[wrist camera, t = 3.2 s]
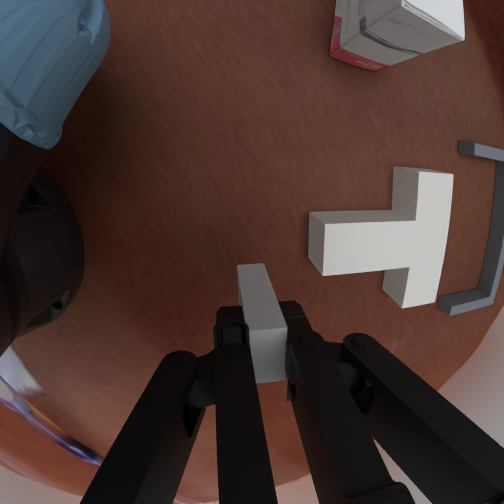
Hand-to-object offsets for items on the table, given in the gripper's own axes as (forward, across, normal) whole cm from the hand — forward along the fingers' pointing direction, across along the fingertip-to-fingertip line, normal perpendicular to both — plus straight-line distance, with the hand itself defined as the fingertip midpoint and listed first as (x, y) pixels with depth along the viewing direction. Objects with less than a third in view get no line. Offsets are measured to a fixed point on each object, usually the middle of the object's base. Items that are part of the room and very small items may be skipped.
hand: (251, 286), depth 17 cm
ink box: (+9, +11, +19) cm, 24 cm away
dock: (+9, +27, 0) cm, 28 cm away
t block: (+8, +12, 0) cm, 14 cm away
